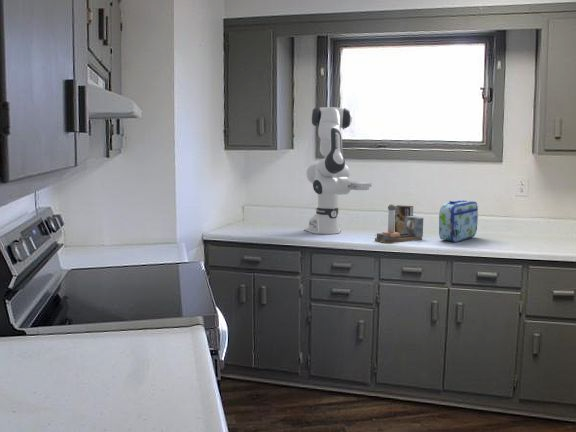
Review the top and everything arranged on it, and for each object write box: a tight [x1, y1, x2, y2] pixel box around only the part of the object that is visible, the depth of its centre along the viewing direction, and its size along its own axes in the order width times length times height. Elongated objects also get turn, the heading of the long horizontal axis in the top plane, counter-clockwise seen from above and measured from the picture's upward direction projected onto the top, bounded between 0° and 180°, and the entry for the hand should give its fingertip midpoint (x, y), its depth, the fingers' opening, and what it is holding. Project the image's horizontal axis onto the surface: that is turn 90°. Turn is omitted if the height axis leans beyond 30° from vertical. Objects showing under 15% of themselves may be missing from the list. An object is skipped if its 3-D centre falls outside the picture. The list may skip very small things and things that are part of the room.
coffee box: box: [394, 204, 414, 234], centre depth 348 cm, size 9×6×16 cm
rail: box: [374, 215, 424, 244], centre depth 331 cm, size 10×25×12 cm, turn 122°
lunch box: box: [438, 199, 479, 243], centre depth 333 cm, size 26×11×21 cm, turn 134°
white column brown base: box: [381, 203, 400, 237], centre depth 327 cm, size 7×6×16 cm
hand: (364, 184), depth 320 cm, fingers open, 8 cm apart
